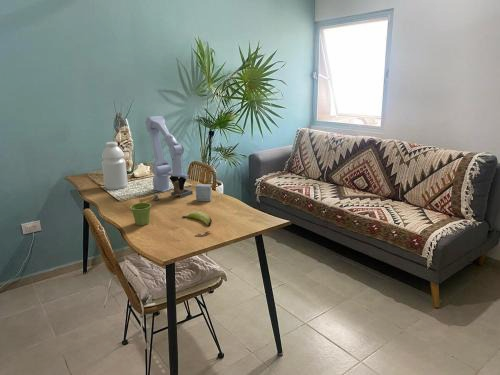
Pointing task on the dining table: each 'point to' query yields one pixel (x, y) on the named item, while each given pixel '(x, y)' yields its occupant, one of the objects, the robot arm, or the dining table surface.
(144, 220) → the plant pot
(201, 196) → the medicine box
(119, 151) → the bottle
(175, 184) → the plug
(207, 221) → the green banana
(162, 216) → the dining table surface
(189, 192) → the cradle
